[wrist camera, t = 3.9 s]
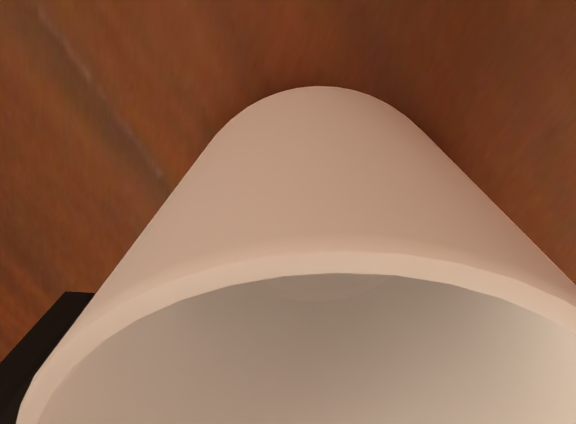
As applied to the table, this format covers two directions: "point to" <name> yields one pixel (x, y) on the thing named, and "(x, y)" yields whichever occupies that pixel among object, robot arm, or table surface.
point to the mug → (320, 289)
